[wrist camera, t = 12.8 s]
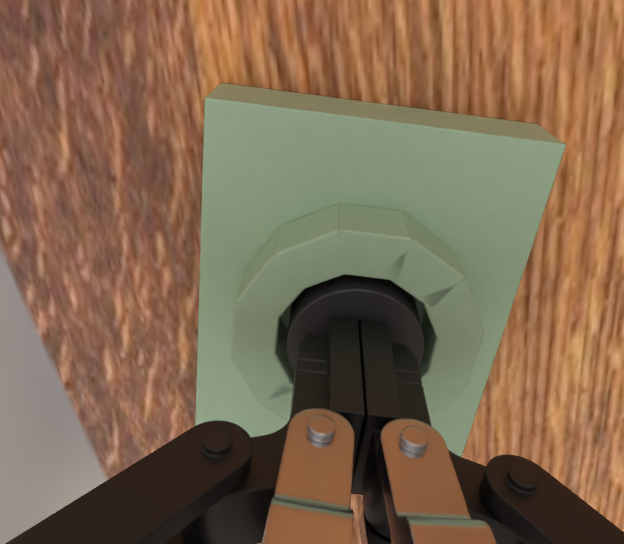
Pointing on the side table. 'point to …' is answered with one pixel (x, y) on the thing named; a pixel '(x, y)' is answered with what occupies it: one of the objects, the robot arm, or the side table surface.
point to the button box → (359, 237)
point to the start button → (355, 311)
